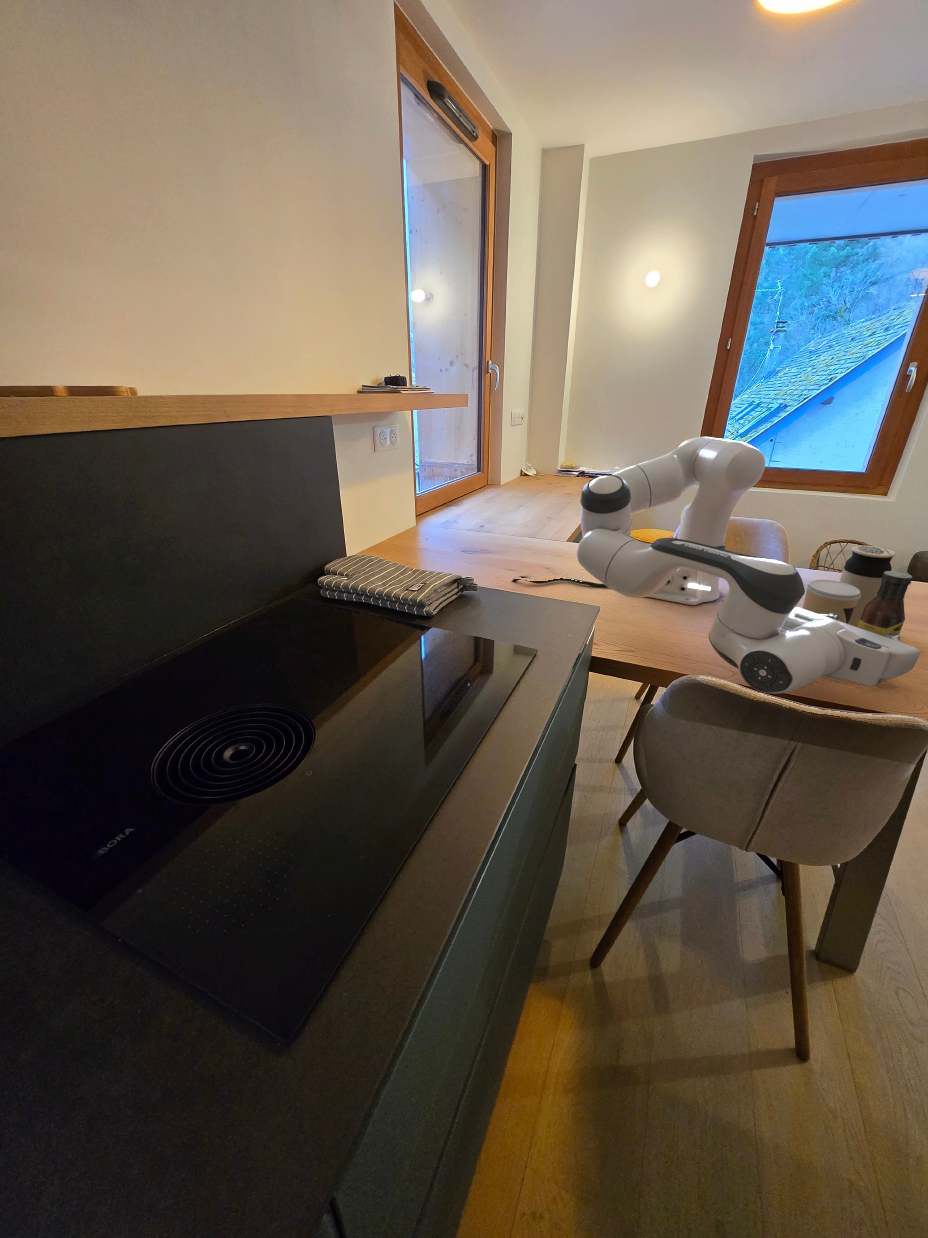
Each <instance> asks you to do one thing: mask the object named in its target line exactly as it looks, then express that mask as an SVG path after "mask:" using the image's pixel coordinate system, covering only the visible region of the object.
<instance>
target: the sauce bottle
mask: <svg viewBox="0 0 928 1238" xmlns="http://www.w3.org/2000/svg"><path fill="white" fill-rule="evenodd" d="M912 580H913V575H911V574H909V573H906V572H902V571H895V570H891V571H886V572H884V573H883V576H882V578H881V581H882V583H881V585H880V588H879V591H878V592H877V596H876V597H875V598H873V599H872V600H871V601H869V602H868V603H867V604H866V605H865V607H864V609H863V613H862V615H861V618H860V619H859V622H858V624H857V627H858V628H861V629H864V630H867V631H870V632H872V633H875V634H878V635H881V636H884V637H886V635H887V634H889V633H893V634H896V635H899V636H900V634H901V632H902V631H901V630H902V628H903V626H904V623H905V620H906V613H905V595H906V592H907V590H908V587H909V586H910V585H911V584H912Z"/></svg>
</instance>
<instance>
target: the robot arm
mask: <svg viewBox="0 0 928 1238" xmlns="http://www.w3.org/2000/svg"><path fill="white" fill-rule="evenodd" d="M765 470H766V459H765V456H764V454H763V452H762V451H761V450H759V449H758V448H756V447H754V446H752V445H751V444H749V443H747V442H745V441H739V440H732V439H726V438H718V437H713V436H699V437H697V436H696V437H691V438H689V439H686V440H684V441H683V442H682V443H680V445H678V447H676V448H675V449H673V450H671V451H670V452H668V453H666V454H664V455H660V456H658V457H654V458H652V459H649V460H646V461H643V462H640V463H637V464H633V465H631V466H627V467H626V468H623V469H620V470H618V471H616V472H614V473H612V474H601V475H597V476H595V477H593V478H591V479H590V480H589V481H588V482H586V483H585V485H583V487H582V489H581V493H580V500H579V501H580V502H579V503H580V528H581V534H582V538H581V539H580V541H579V543H578V544H577V548H576V559H577V562H578V563H579V565H580V566H581V567H582V568H583V569H584V570H585V571H586V572H587V573H589V574H590V576H591V577H593V578H595V579H596V580H597V581H598V583H597V582H593V581H588V580H580V579H577V578H573V579H574V580H571V579H572V577H570V578H571V579H563V578H560V579H553V580H548V581H527V580H525V581H526V582H528V583H532V584H535V585H537V584H539V585H541V584H543V585H544V584H548V583H553V582H570V583H573V584H574V583H575V584H579V585H584V586H589V587H590V586H592V587H595V588H609V589H611V590H613V591H614V592H616V593H617V594H620V595H621V596H625V597H627V598H631V599H642V598H644V597H646V598H652V599H657V600H663V601H668V602H672V603H678V604H683V605H689V606H696V605H698V604H699V605H700V604H701V603H702V604H703V603H707V602H713V601H716V600H718V599H719V598H720V596H721V592H720V579H723V580H725V581H726V582H727V585H728V590H727V592H726V595H725V596H724V598H723V601H722V604H721V606H720V608H719V610H718V611H717V613H716V616H715V618H714V620H713V622H712V624H711V627H710V630H709V632H708V640H709V643H710V645H711V646H712V648H713V650H714V651H715V652H716V653H717V655H718V656H719V657H720V658H721V659H723V660H724V661H725V662H726V663H728V664H729V665H730V666H732V667H734V668H735V669H738V671H739V674H740V676H741V677H742V679H743V681H745V683H746V684H747V685H748V686H749V687H751V688H753V689H754V690H756V691H759V692H761V693H765V694H773V695H774V694H786V693H790V692H794V691H796V690H799V689H803V688H804V687H807V686H808V685H811V684H813V683H815V682H817V681H818V680H819V679H820V678H824V677H826V678H832V679H837V680H842V681H843V680H844V681H848V682H853V683H856V684H860V685H863V686H867V687H874V686H876V685H877V684H878V683H879V681H880V680H893V679H895V678H898V677H901V676H903V675H904V674H907V673H909V672H910V671H912V670H913V668H914V667H915V666H916V664H917V662H918V660H919V657H920V653H921V651H920V650H919V649H918V647H916V646H913V645H910V644H908V643H904V642H901V641H900V640H901V638H902V636H901V635H900V634H899V635H896V634H893V633H889V634H887V635H886V637H884V636H881V635H878V634H875V633H872V632H870V631H867V630H864V629H861V628H858V627H855V626H852V625H849V624H846V623H843V622H840V621H839V620H838V619H840V616H839V615H836V614H833V613H830V614H817V613H814V612H811V611H808V610H805V609H802V608H803V607H798V606H797V605H798V604H799V602H800V601H801V599H802V598H803V597H804V595H805V594H806V589H805V584H804V582H803V579H802V577H801V575H800V573H799V571H798V570H797V568H796V567H794V566H793V565H791V564H790V563H787V562H784V561H781V560H777V559H774V558H768V557H762V556H755V555H749V554H744V553H739V552H735V551H732V550H728V549H726V542H725V541H726V536H727V534H728V533H727V532H728V528H729V524H730V522H731V521H730V520H731V516H732V514H733V511H734V509H735V507H736V506H737V504H738V502H739V500H741V497H742V496H743V495H744V494H745V493H747V491H748V490H749V489H752V488H753V487H754V486H756V484H757V483H758V482H759V481H760V480H761V478H762V476H763V475H764V472H765ZM694 487H698V488H697V491H696V493H695V495H694V498H693V499H692V501H691V502H690V503H687V505H685V506H684V507H683V509H682V511H681V516H680V522H679V527H678V533H677V537H674V536H673V535H669V536H668V537H661V538H657V539H656V540H655V541H653V542H651V543H646V542H643V541H640V540H638V539H637V538H634V537H631V535H632V527H633V526H632V524H633V521H632V515H635V514H638V513H639V514H640V513H642V512H645V511H648V510H651V509H654V508H658V507H660V506H663V505H666V504H669V503H672V502H675V501H677V500H678V499H680V497H681V496H682V494H683V493H684V492H685V491H687V490H688V489H691V488H694ZM518 577H521V578H529V579H530V577H527V576H523V575H519V576H518ZM515 578H516V577H515ZM515 578H512V580H511V583H516V582H518V581H522V580H521V579H515ZM575 580H577V581H575ZM580 581H582V582H580ZM599 582H600V583H599Z"/></svg>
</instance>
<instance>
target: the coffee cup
mask: <svg viewBox="0 0 928 1238" xmlns="http://www.w3.org/2000/svg"><path fill="white" fill-rule="evenodd" d="M804 595H805V596H804V600H803V605H802V607H801V608H802V609H805V610H808V611H811V612H814V613H817V614H830V613H833V614H836V615H839V616H840V619H838V620H839V621H840V622H843V623H846V624H848V622H849V620H850V618H851V616H852V613H853V611H854V609H855V607H856V604H857V602H858V600H859V599H860V597H861V594H860V590H859V589H858V588H856V587H854V586H852V585H849V584H846V583H842V582H839V581H838V580H837V581H836V580H831V579H815V580H812V581H810V582H809V583H808V584H807V585H806V590H805V594H804Z"/></svg>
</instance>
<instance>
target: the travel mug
mask: <svg viewBox="0 0 928 1238" xmlns="http://www.w3.org/2000/svg"><path fill="white" fill-rule="evenodd" d="M851 551H852V553H851V556H850V557H849V558H848V559H847V560H846V561H845V562H844V563H845V564H844V567H843V570H842V572H841V576H840V577H839V578H840V579H839V581H838V582H842V583H846V584H849V585H852V586H854V587H856V588H858V589H859V590H860V594H861V597H860V599H859V600H858V602H857V604H856V607H855V609H854V611H853V613H852V616H851V618H850V620H849V622H848V624H849V625H852V626H855V627H857V624H858V622H859V619H860V618H861V615H862V613H863V609H864V607H865V605H866V604H867V603H868V602H869V601H871V600H872V599H873V598H875V597H876V596H877V592H878V591H879V588H880V585H881V583H882V581H881V578H882V576H883V573H884V572H886V571H893V570H892V565H891V561H892V560H893V558H894V557H895V556H896V555H897V554H896V552H895V551H893V550H891V549H888V548H885V547H880V546H876V545H875V546H874V545H865V544H864V545H861V544H860V545H854V546H852V547H851Z"/></svg>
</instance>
